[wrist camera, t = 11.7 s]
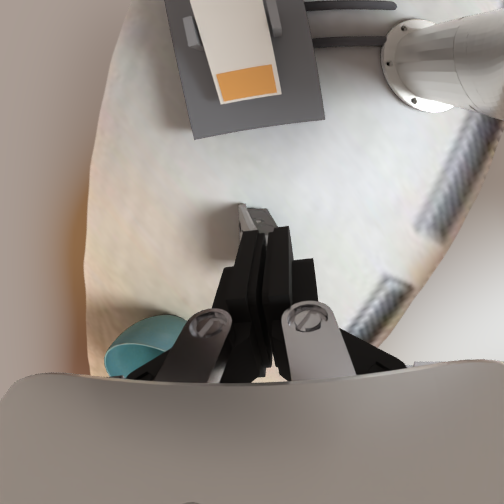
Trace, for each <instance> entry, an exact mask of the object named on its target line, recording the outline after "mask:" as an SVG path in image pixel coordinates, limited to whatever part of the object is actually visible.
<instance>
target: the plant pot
mask: <svg viewBox="0 0 504 504" xmlns="http://www.w3.org/2000/svg"><path fill="white" fill-rule="evenodd" d="M186 322H187V321H186V320H184V319H182V318H180V317H177V316H173V315H159V316H153V317H150V318H146V319H144V320H141V321H139V322H137V323H135V324H134V325H132V326H131V327H129V328H128V329H127V330H125V331H124V332H123V333H122V334H121V335H120V336H119V337H118V338H117V339H116V340H115V341H114V342H113V343H112V345H111V346H110V347H109V349H108V350H107V352H106V354H105V357H104V364H105V368H106V371H107V373H108V374H109V376H110V377H111V376H120V375H123V376H124V377H125V378H126V377H127V376H128V375H129V374H130V373H131V372H133V371H134V370H136V369H137V368H139V367H141V366H142V365H144V364H146V363H147V362H149V361H151V360H152V359H154V358H155V357H157V356H159V355H160V354H162V353H164V352H165V351H167V350H169V349H170V348H172V347H173V345H174V343H175V341H176V340H177V338H178V336H179V334H180V332H181V331H182V329H183V327H184V325H185V324H186Z"/></svg>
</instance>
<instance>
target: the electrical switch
mask: <svg viewBox="0 0 504 504" xmlns="http://www.w3.org/2000/svg"><path fill="white" fill-rule="evenodd" d="M238 211H239V236H240V241H241V237H242V234H243V231H251V230H259V233H265V237H266V243H267V241H268V233H269V232H273V231H274V228H276V227H278V226H277V225H276V223H275V221H274V220H273V218H272V216H271V215H270V213H269V211H268V210H267V209H246V204H241V205H239V209H238Z"/></svg>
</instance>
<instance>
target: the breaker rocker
mask: <svg viewBox="0 0 504 504" xmlns="http://www.w3.org/2000/svg"><path fill="white" fill-rule="evenodd" d="M190 3H191V6H192V10H193V13H194V16H195V20H196V23H197V26H198V30H199V33H200V36H201V40H202V43H203V46H204V50H205V53H206V56H207V60H208V63H209V66H210V70H211V73H212V76H213V80H214V83H215V87H216V90H217V93H218V97H219V100H220V104H226V103H232V102H237V101H242V100H248V99H254V98H260V97H266V96H273V95H280V94H282V93H281V87H280V82H279V76H278V71H277V66H276V61H275V56H274V51H273V46H272V41H271V37H270V32H269V27H268V23H267V18H266V14H265V9H264V5H263V0H190Z"/></svg>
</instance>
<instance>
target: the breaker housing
mask: <svg viewBox="0 0 504 504" xmlns="http://www.w3.org/2000/svg"><path fill="white" fill-rule="evenodd" d="M164 1H165V6H166V11H167V16H168V21H169V26H170V31H171V36H172V41H173V46H174V50H175V55H176V60H177V65H178V69H179V74H180V78H181V83H182V88H183V92H184V97H185V101H186V105H187V110H188V114H189V119H190V123H191V127H192V132H193V136H194V140H196V139H201V138H206V137H211V136H216V135H221V134H226V133H232V132H238V131H243V130H249V129H256V128H262V127H269V126H276V125H283V124H291V123H299V122H308V121H317V120H325V115H324V108H323V101H322V94H321V88H320V82H319V76H318V70H317V64H316V59H315V53H314V48H313V43H312V38H311V33H310V28H309V23H308V19H307V14H306V10H305V5H304V1H303V0H263V5H264V9H265V14H266V18H267V23H268V27H269V32H270V37H271V41H272V46H273V51H274V56H275V61H276V66H277V71H278V76H279V82H280V87H281V93H282V94H280V95H273V96H266V97H260V98H254V99H248V100H242V101H237V102H232V103H226V104H220V100H219V97H218V93H217V90H216V87H215V83H214V80H213V76H212V73H211V70H210V66H209V63H208V60H207V56H206V53H205V50H204V46H203V43H202V40H201V36H200V33H199V30H198V26H197V23H196V20H195V16H194V13H193V10H192V6H191V3H190V0H164Z"/></svg>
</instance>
